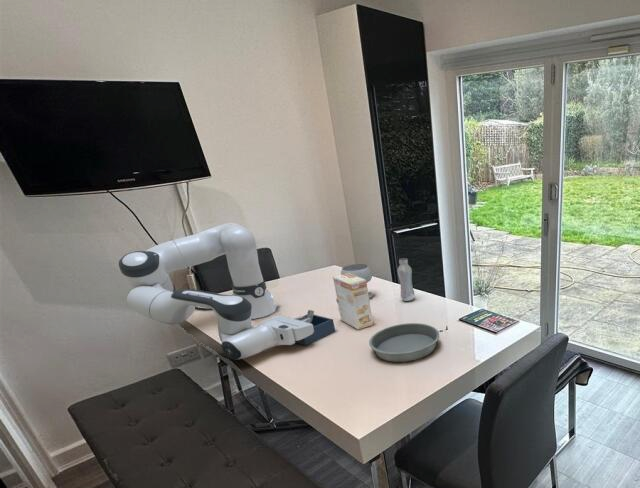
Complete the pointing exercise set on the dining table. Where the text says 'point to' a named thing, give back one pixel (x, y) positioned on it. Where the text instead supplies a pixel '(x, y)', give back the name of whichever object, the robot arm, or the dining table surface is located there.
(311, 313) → the lighter
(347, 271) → the chalice
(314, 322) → the basket
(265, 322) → the robot arm
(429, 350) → the cake pan
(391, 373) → the dining table surface
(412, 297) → the plastic bottle
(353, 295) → the coffeecake box
